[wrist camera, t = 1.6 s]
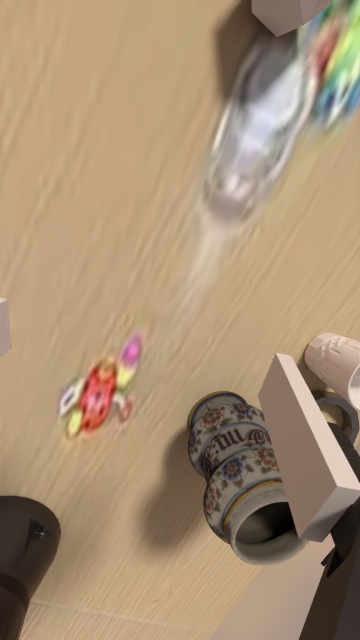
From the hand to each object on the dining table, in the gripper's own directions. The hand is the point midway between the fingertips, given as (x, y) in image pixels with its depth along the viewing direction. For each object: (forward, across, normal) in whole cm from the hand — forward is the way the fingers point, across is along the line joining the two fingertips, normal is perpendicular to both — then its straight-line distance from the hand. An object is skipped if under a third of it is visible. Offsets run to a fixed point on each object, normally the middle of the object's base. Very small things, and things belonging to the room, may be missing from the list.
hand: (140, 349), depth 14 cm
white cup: (+26, -26, +12) cm, 38 cm away
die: (+32, -6, -26) cm, 42 cm away
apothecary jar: (+21, -12, +24) cm, 34 cm away
